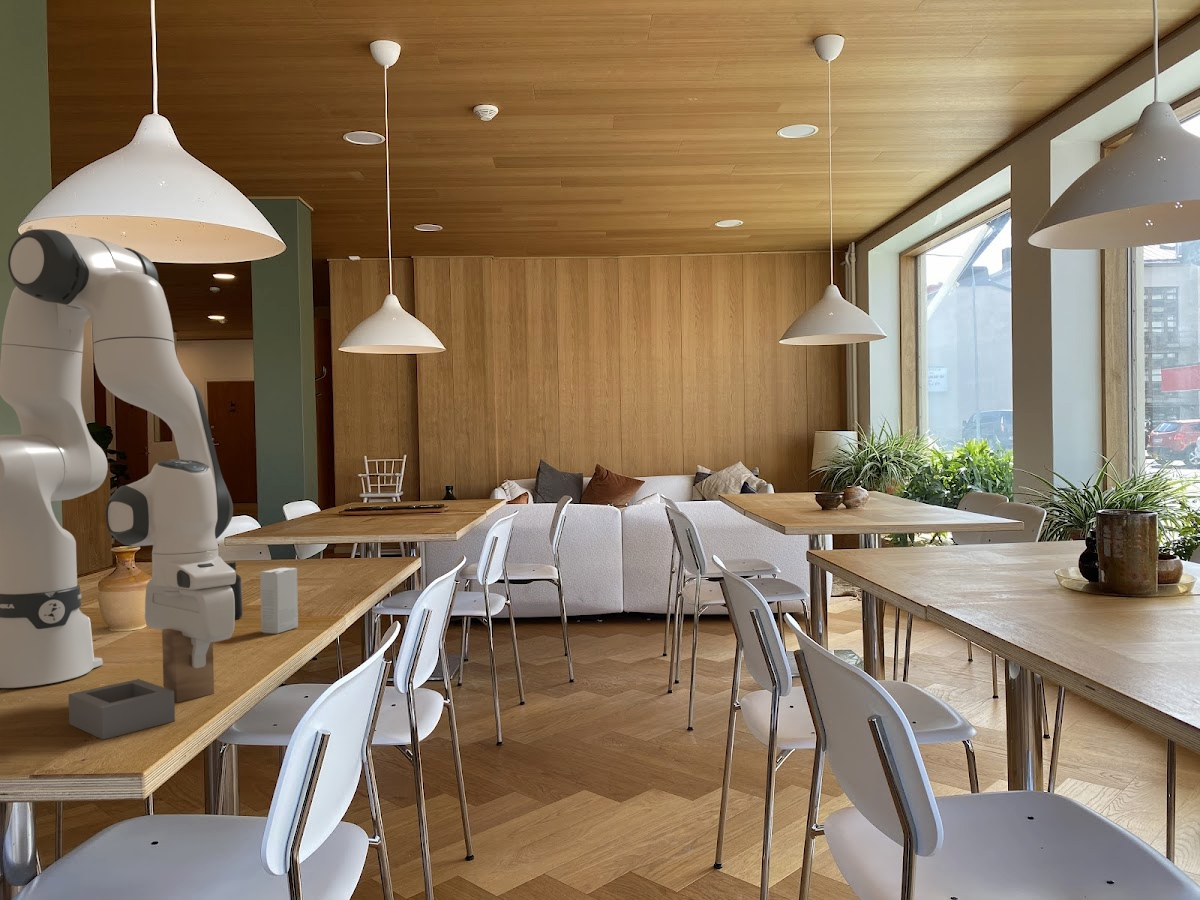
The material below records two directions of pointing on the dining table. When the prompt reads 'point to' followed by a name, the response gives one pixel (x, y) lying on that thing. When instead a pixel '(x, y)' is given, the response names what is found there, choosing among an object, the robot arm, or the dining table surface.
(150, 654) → the dining table surface
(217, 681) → the dining table surface
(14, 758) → the dining table surface
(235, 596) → the supplement bottle
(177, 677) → the walnut peg
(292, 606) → the skincare box
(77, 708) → the holder
